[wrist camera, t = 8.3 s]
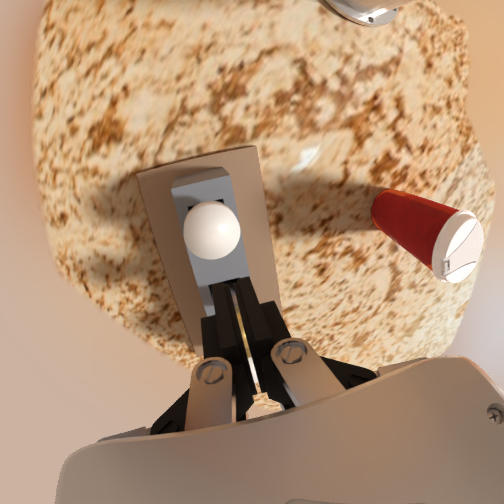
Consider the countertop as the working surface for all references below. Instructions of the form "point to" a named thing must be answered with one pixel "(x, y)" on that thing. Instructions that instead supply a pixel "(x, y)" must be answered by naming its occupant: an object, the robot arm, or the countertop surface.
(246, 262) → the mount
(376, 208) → the coffee cup
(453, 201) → the countertop surface
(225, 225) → the knob
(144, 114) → the countertop surface
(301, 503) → the robot arm
